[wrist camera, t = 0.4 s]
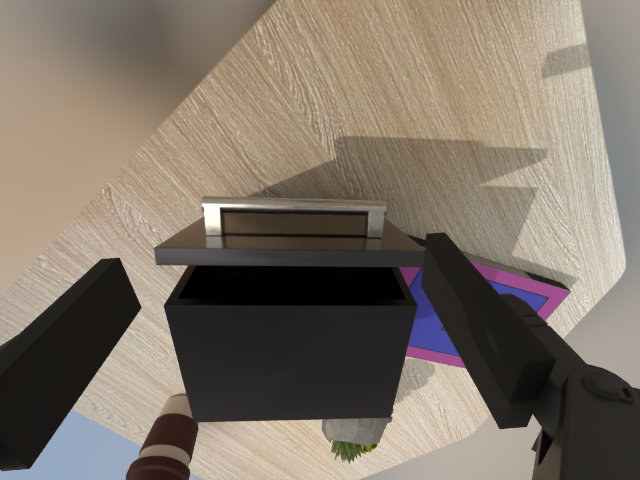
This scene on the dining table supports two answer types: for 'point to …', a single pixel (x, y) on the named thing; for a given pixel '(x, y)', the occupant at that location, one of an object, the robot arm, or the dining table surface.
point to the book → (533, 289)
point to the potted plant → (354, 435)
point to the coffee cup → (167, 444)
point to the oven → (290, 341)
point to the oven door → (291, 235)
